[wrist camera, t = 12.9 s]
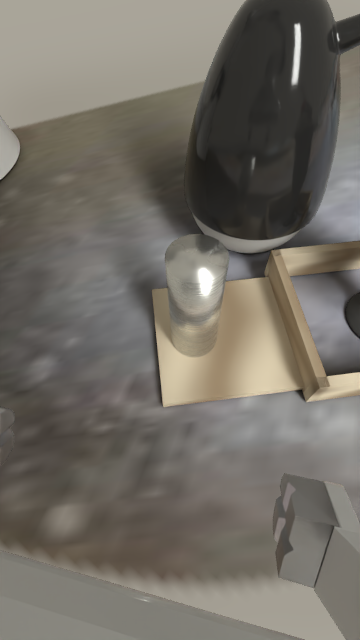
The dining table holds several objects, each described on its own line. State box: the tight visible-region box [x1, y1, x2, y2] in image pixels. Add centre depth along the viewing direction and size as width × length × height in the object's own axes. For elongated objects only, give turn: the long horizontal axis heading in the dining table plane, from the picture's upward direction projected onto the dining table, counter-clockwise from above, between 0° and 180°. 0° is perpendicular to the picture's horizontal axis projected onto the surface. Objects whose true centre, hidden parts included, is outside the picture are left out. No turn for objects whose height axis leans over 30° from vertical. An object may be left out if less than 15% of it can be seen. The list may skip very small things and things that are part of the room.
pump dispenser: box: [184, 0, 360, 253], centre depth 22 cm, size 10×10×15 cm
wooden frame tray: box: [152, 234, 360, 407], centre depth 20 cm, size 19×10×8 cm, turn 97°
